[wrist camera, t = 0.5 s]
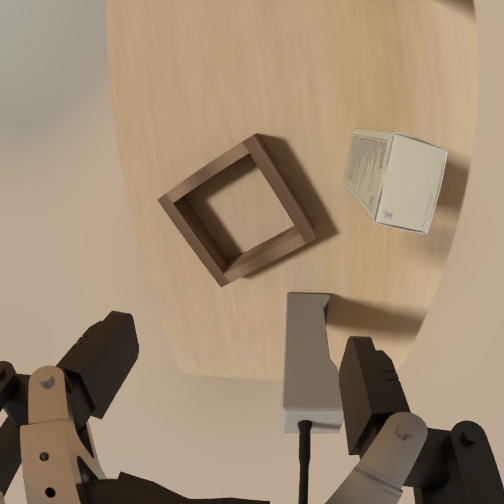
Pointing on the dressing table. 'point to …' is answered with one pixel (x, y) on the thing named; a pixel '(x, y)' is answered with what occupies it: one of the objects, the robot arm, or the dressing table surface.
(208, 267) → the walnut holder
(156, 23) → the dressing table surface
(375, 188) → the skincare box
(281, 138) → the dressing table surface
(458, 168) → the dressing table surface
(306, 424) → the vintage mobile phone
